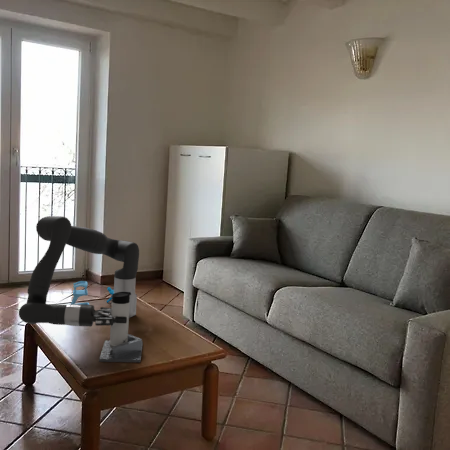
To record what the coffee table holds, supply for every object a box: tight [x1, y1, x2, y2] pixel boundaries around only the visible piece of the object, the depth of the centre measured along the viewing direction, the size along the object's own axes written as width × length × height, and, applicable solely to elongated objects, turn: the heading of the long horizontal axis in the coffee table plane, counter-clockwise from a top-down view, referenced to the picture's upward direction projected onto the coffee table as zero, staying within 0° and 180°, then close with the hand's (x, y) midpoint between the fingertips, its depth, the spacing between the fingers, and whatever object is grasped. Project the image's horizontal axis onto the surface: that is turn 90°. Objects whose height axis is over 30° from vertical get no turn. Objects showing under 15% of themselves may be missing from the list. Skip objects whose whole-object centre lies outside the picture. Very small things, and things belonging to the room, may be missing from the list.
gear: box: [106, 286, 114, 304], centre depth 248 cm, size 11×6×10 cm
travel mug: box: [109, 292, 131, 349], centre depth 185 cm, size 6×7×20 cm
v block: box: [98, 333, 144, 363], centre depth 186 cm, size 14×18×5 cm
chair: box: [70, 280, 90, 305], centre depth 237 cm, size 8×8×12 cm
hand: (127, 317), depth 185 cm, fingers closed on travel mug, 6 cm apart
